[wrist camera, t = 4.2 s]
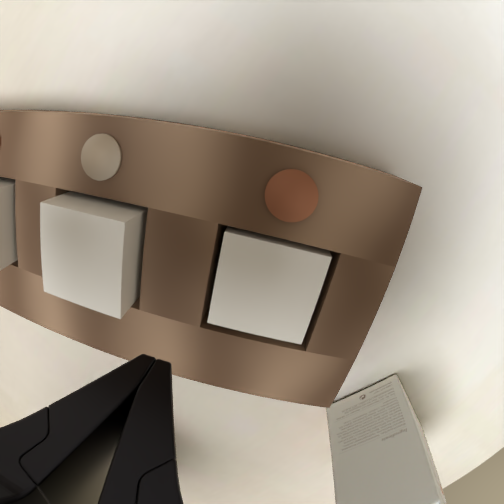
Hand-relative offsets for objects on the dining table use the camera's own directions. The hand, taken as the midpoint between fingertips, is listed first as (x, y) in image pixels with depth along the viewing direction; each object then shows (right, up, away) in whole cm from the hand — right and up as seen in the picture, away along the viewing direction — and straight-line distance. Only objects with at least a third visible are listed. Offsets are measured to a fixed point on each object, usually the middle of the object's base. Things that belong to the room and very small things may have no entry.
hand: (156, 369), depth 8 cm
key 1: (+3, +2, +8) cm, 9 cm away
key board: (-4, +5, +9) cm, 11 cm away
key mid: (-5, +4, +7) cm, 9 cm away
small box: (+12, -9, +13) cm, 20 cm away
